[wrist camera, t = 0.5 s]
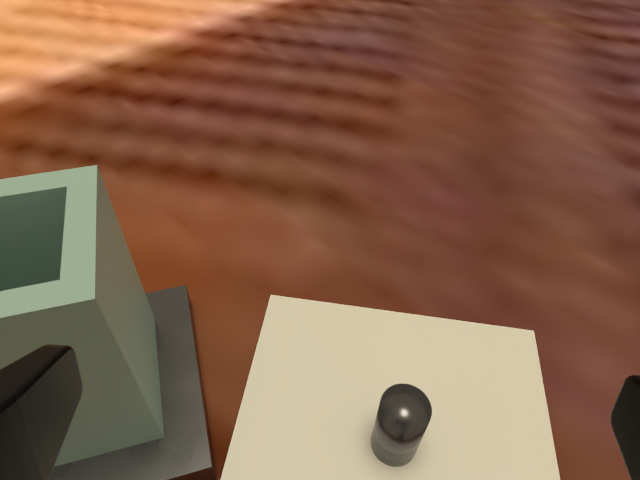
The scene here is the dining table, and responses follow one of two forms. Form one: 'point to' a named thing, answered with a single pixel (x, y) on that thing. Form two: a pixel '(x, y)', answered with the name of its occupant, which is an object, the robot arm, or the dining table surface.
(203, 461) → the stand
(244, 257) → the dining table surface
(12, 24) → the dining table surface
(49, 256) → the sleeve
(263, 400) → the board
